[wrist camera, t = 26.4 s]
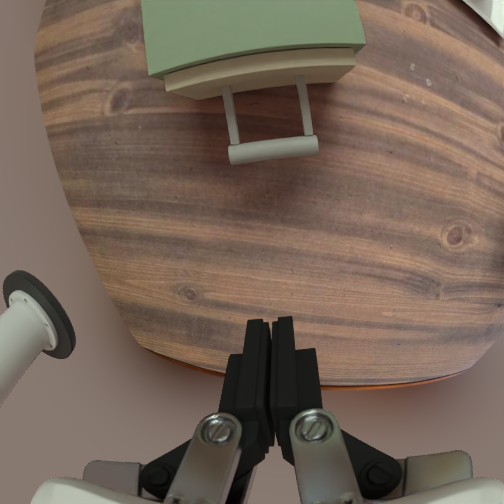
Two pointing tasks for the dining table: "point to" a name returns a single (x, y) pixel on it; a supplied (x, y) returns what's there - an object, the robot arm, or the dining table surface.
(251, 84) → the drawer
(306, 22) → the small drawer box
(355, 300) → the dining table surface
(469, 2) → the dessert
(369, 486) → the robot arm
